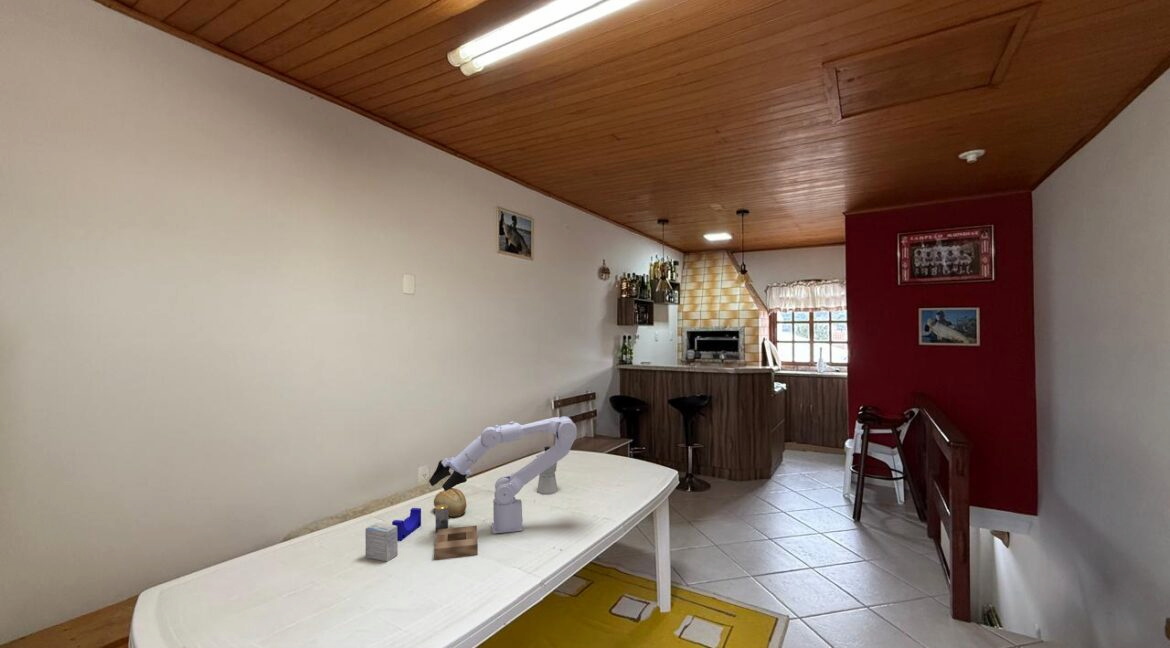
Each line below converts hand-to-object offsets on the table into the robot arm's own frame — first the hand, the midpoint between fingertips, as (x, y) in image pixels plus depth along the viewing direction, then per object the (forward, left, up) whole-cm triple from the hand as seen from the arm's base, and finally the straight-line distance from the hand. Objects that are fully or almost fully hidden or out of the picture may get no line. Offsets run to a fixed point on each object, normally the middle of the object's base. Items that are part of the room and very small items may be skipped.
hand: (437, 486), depth 152 cm
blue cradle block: (+10, -3, -16) cm, 19 cm away
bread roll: (-3, -18, -15) cm, 24 cm away
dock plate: (-6, +12, -15) cm, 20 cm away
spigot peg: (-1, -1, -15) cm, 15 cm away
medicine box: (+15, +13, -15) cm, 25 cm away
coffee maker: (-41, -32, -15) cm, 55 cm away
